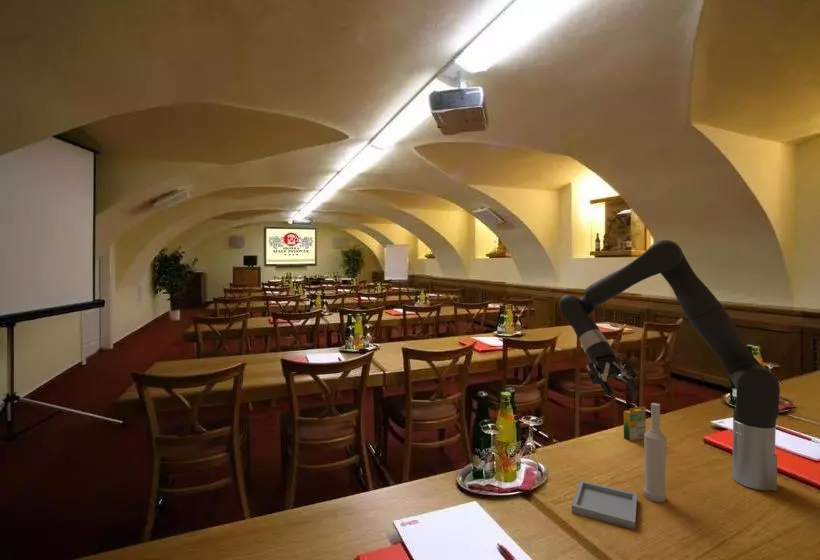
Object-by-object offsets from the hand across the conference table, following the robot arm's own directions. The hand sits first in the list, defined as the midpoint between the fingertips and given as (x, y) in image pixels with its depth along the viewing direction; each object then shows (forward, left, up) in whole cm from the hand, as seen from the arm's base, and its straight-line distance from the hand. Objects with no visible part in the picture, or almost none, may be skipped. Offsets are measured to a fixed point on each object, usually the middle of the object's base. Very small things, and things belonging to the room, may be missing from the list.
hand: (623, 394), depth 120 cm
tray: (+3, +19, -24) cm, 31 cm away
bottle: (-8, +8, -25) cm, 27 cm away
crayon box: (-2, -32, -25) cm, 40 cm away
